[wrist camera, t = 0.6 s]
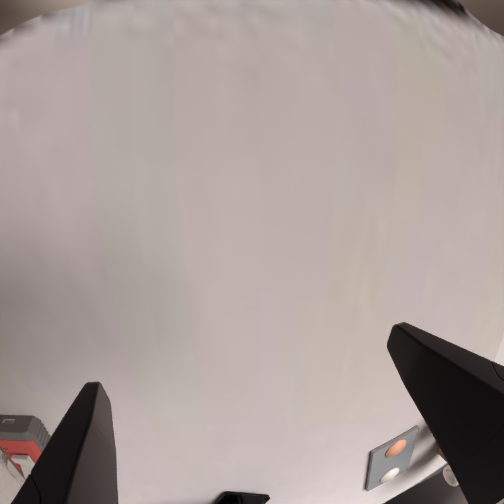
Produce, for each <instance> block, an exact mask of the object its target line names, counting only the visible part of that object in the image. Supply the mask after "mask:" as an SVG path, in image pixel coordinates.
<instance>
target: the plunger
mask: <svg viewBox="0 0 504 504" xmlns="http://www.w3.org/2000/svg"><path fill="white" fill-rule="evenodd" d="M443 475H444V478H445V480H446V481H447V483H449V484H450V485H451V486H457V485H458V482H457V480H456V478H455V476H454V474H453V472H452V470H451V468H450V466H449V465H448V466H446V467H445V468H444V470H443Z"/></svg>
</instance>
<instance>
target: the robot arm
mask: <svg viewBox="0 0 504 504" xmlns="http://www.w3.org/2000/svg"><path fill="white" fill-rule="evenodd" d="M387 349H388V351H389V353H390V356H391V358H392V360H393V362H394V364H395V366H396V368H397V370H398V373H399V375H400V377H401V379H402V381H403V383H404V385H405V387H406V389H407V391H408V392H409V394H410V396H411V398H412V399H413V401H414V403H415V404H416V406H417V408H418V410H419V411H420V413H421V415H422V417H423V418H424V420H425V422H426V424H427V426H428V427H429V429H430V431H431V433H432V434H433V436H434V438H435V440H436V442H437V444H438V445H439V447H440V449H441V451H442V453H443V455H444V457H445V458H446V460H447V462H448V464H449V466H450V468H451V470H452V472H453V474H454V476H455V478H456V480H457V482H458V484H459V486H460V487H461V490H462V492H463V493H464V496H465V498H466V500H467V502H468V504H496V503H498V502H499V501H500V500H502V499H503V498H504V366H502V365H500V364H497V363H495V362H493V361H490V360H488V359H486V358H484V357H482V356H479V355H477V354H475V353H473V352H470V351H468V350H466V349H464V348H461V347H459V346H457V345H455V344H452V343H450V342H448V341H446V340H444V339H441V338H439V337H437V336H435V335H432V334H430V333H428V332H426V331H423V330H421V329H419V328H417V327H415V326H412V325H410V324H408V323H405V322H402V323H399V324H395V325H394V326H393V327H392V330H391V333H390V336H389V339H388V342H387ZM30 473H31V474H29V475H28V477H27V478H26V480H25V482H24V484H23V485H22V487H21V489H20V490H19V492H18V494H17V495H16V497H15V498H14V500H13V501H12V503H11V504H118V490H117V464H116V447H115V439H114V431H113V421H112V411H111V403H110V400H109V398H108V396H107V394H106V392H105V390H104V388H103V386H102V384H101V383H100V382H87V383H86V384H85V385H84V386H83V388H82V389H81V391H80V393H79V394H78V396H77V397H76V399H75V400H74V402H73V403H72V405H71V406H70V408H69V409H68V411H67V413H66V414H65V416H64V417H63V419H62V420H61V422H60V424H59V425H58V427H57V428H56V430H55V432H54V433H53V435H52V436H51V438H50V440H49V441H48V443H47V445H46V446H45V448H44V450H43V451H42V453H41V455H40V456H39V458H38V460H37V461H36V463H35V465H34V466H33V468H32V470H31V472H30ZM269 499H270V497H269V495H259V494H246V493H235V492H225V493H224V494H223V495H222V496H221V497H220V498H219V499H218V500H217V501H216V503H215V504H265V503H266V502H267V501H268V500H269ZM503 504H504V503H503Z"/></svg>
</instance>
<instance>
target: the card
mask: <svg viewBox="0 0 504 504" xmlns="http://www.w3.org/2000/svg"><path fill="white" fill-rule="evenodd" d="M418 430H419V427H418V426H415V427H413V428H412V429H410V430H408V431H407V432H405V433H403V434H401V435H400V436H398V437H396V438H394V439H393V440H391V441H389V442H387V443H385V444H383V445H381V446H380V447H378V448H376V449H374V450H372V451H371V457H370V464H369V471H368V477H367V483H366V491H369V490H371V489H373V488H375V487H377V486H379V485H381V484H383V483H385V482H387V481H389V480H391V479H392V478H394V477H395V476H397V475H399V474H400V473H402V472H404V471H406V470H407V469H408V466H409V463H410V459H411V456H412V453H413V449H414V445H415V442H416V438H417V434H418Z"/></svg>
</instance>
